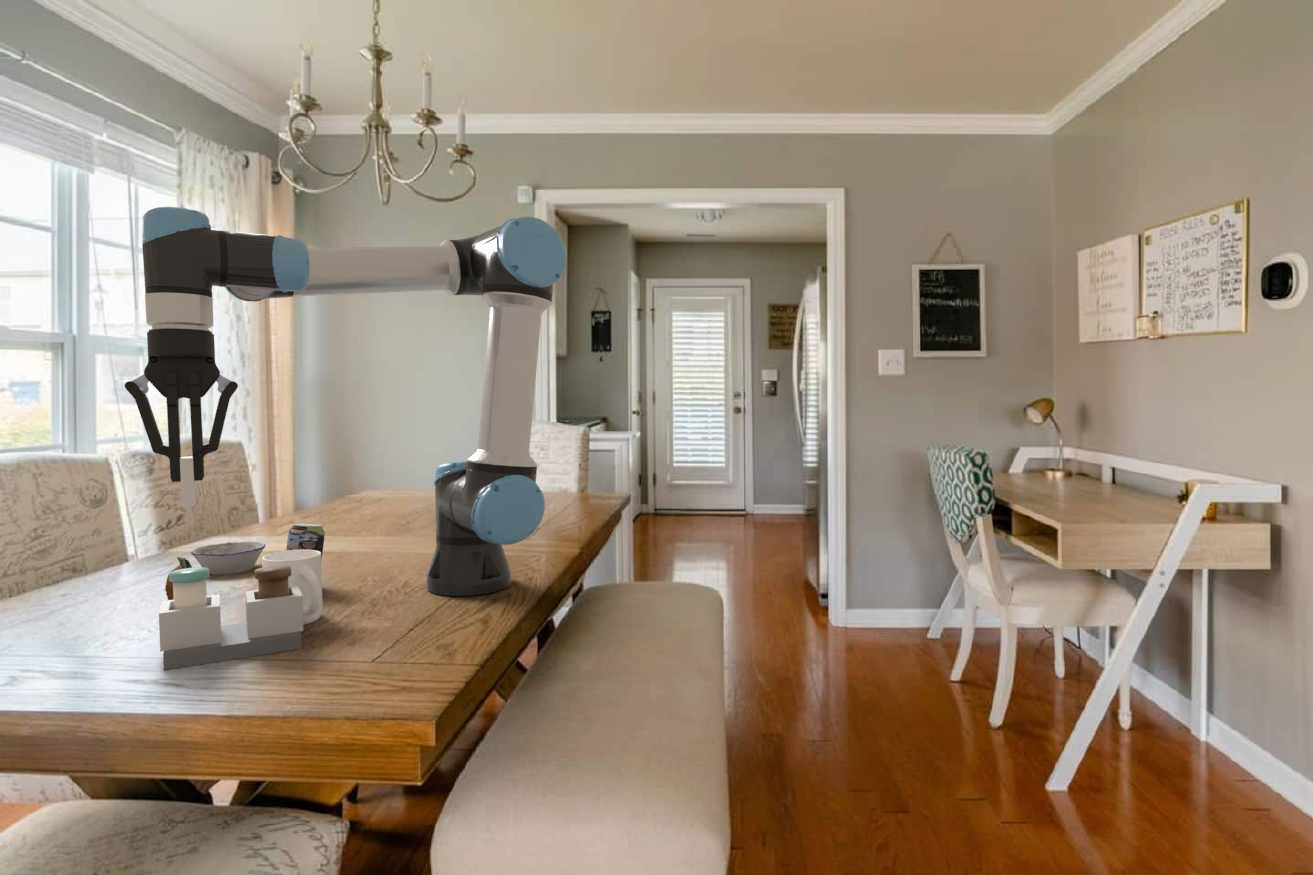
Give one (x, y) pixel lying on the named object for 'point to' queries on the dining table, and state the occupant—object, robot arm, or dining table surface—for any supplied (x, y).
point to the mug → (302, 578)
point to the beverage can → (306, 537)
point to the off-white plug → (189, 587)
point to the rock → (183, 565)
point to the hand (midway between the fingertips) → (188, 505)
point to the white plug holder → (230, 630)
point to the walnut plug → (273, 581)
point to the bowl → (228, 556)
